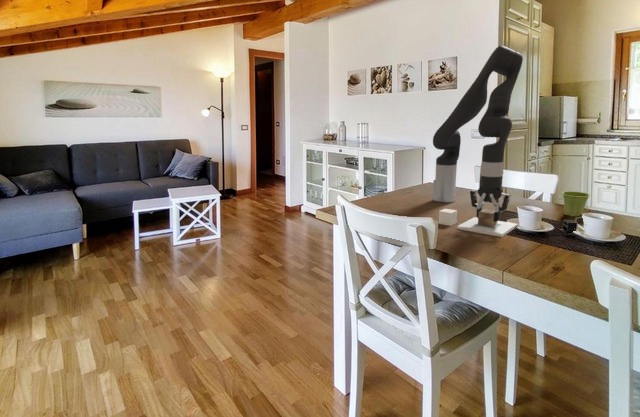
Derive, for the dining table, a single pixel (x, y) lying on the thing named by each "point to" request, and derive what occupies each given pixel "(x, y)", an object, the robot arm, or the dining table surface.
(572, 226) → the black irregular block
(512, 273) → the dining table surface
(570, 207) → the plant pot
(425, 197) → the dining table surface
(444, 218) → the cream block
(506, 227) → the board
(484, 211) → the walnut block
